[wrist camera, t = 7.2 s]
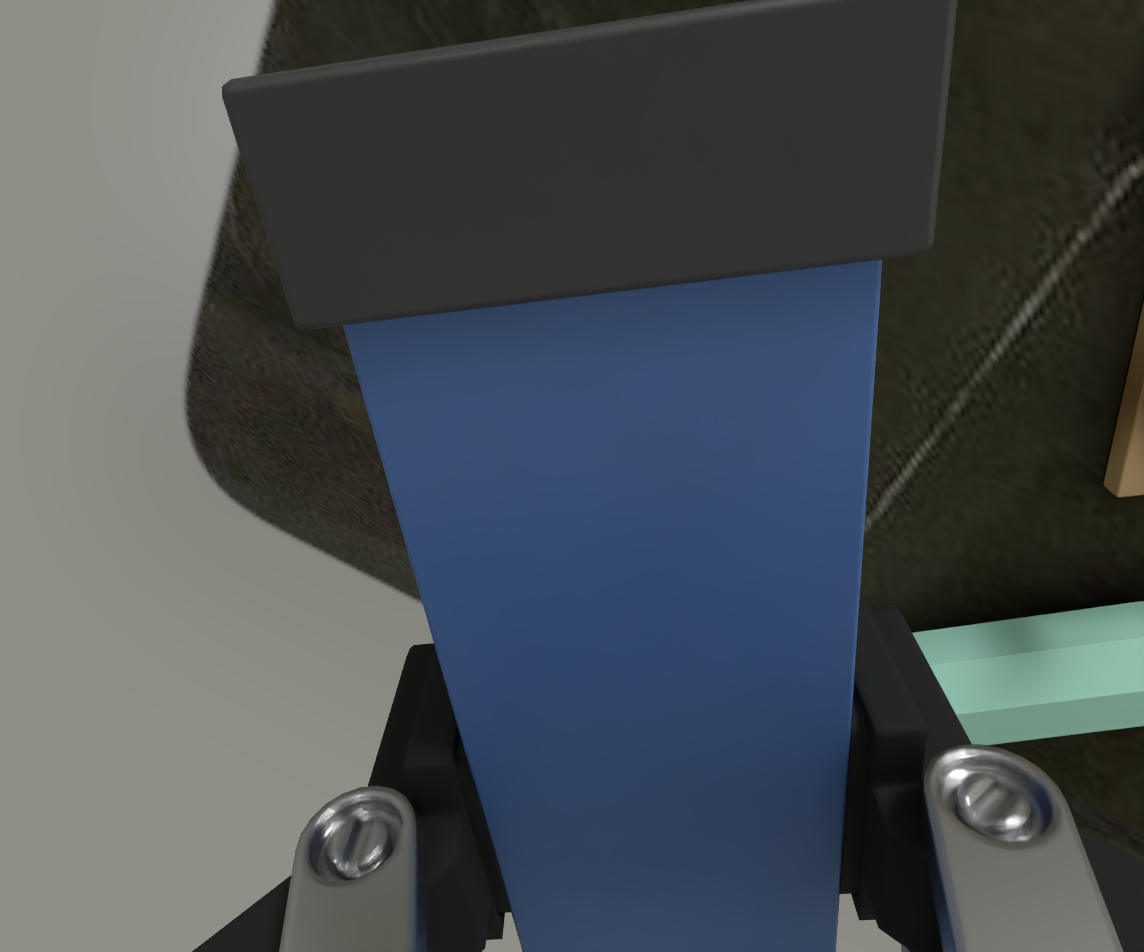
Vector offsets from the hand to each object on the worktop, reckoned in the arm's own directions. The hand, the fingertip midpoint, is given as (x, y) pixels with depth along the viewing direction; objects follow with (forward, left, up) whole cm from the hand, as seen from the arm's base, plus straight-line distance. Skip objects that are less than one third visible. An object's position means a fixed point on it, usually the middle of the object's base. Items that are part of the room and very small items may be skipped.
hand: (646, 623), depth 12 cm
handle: (0, 0, 0) cm, 0 cm away
